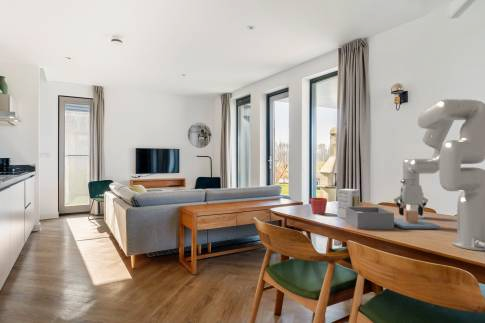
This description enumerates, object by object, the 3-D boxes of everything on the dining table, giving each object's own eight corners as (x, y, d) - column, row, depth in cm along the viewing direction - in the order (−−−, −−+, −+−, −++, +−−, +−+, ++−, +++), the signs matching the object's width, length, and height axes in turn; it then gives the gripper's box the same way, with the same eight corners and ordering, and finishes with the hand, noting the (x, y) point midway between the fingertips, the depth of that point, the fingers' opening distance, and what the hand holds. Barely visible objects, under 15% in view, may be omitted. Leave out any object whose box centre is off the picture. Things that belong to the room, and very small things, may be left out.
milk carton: (423, 218, 176) (423, 186, 176) (410, 218, 178) (410, 186, 178) (418, 216, 183) (419, 185, 183) (406, 215, 185) (406, 185, 185)
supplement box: (351, 219, 173) (351, 190, 173) (337, 217, 180) (337, 189, 180) (359, 217, 179) (359, 189, 179) (345, 215, 186) (345, 188, 186)
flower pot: (309, 214, 188) (309, 199, 188) (310, 211, 199) (310, 197, 198) (326, 215, 185) (327, 200, 185) (327, 212, 195) (327, 197, 195)
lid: (440, 230, 149) (440, 214, 149) (401, 230, 150) (401, 213, 150) (418, 222, 168) (418, 207, 168) (384, 222, 169) (384, 207, 168)
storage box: (393, 229, 150) (394, 213, 150) (357, 228, 151) (357, 212, 150) (378, 221, 168) (378, 207, 168) (345, 221, 169) (346, 207, 168)
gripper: (397, 183, 155) (397, 216, 155) (431, 183, 155) (431, 216, 155) (391, 182, 163) (390, 213, 163) (423, 182, 162) (423, 213, 162)
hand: (410, 215), depth 159 cm, fingers open, 9 cm apart
